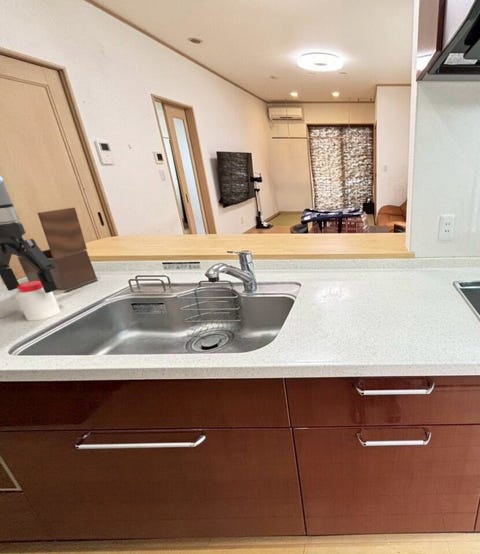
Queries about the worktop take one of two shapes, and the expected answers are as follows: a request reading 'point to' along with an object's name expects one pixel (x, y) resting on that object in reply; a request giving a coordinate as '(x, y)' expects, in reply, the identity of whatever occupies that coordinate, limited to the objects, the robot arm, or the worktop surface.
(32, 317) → the pill bottle
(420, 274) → the worktop surface
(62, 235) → the chest lid
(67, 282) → the chest
